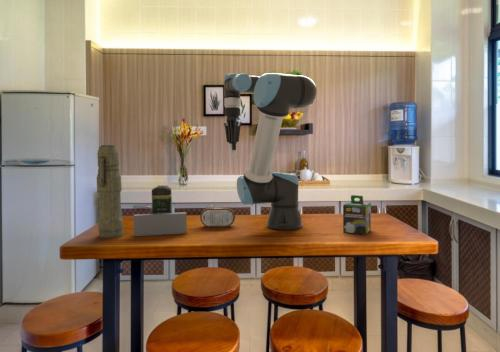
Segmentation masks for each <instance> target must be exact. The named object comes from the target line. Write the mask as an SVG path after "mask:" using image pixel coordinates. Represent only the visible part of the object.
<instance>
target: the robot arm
mask: <svg viewBox="0 0 500 352" xmlns="http://www.w3.org/2000/svg"><path fill="white" fill-rule="evenodd" d="M223 78H224V79H223V87H224V88H223V91H224V94H223V95H224V98H223V99H224V101H223V102H224V104H223V105H224V116H225V117H226V122H223V126H224V131H225V138H226V142H227V143H228V144H229V149H228V150H229V157H230V158H236V157H237V143H239V141H240V131H241V127H242V121H239V117H240V116H241V108H240V107H241V93H245V94H246V93H250V94H251V93H252V94H253V101H254V104H255V106H256V107H257V108H256V111H258V112H259V117H258V122H257V128H256V132H255V136H254V137H255V138H254V140H253V141H254V142H253V146H252V152H251V156H250V161H249V166H248V167H247V168H245V169H244V173H243V175H241V176H238V178H237V179H236V191H237V195H238V199H239V200H240V202H241V203H242V204H243V205H251V206H252V205H253V206H254V205H261V204H263V205H264V204H270V211H269V215H268V217H267V220H266V227H267V228H270V229H273V230H282V231H283V230H285V231H286V230H287V231H289V230H291V231H292V230H298V229H301V228H302V227H303V220H302V217H301V214H300V209H299V186H300V184H299V177H298V175H296V174H294V173H288V172H287V173H285V172H279V171H277V172H276V171H271V169H272V165H273V161H274V157H275V153H276V149H277V146H278V145H277V144H278V141H279V136H280V131H281V127H282V124H283V120H284V119H285V118H286V117H288V115H289V112H290V110H291V109H303V108H305V107H306V108H307V107H308V106H309V105H311V104H313V102H314V101H315V100H316V98H317V94H318V90H317V85H316V84H315V82H314V81H313V79H311V78H310V77H307V76H305V75H299V74H298V75H297V74H289V73H287V74H286V73H279V72H269V73H268V72H266V73H263V74H262V75H260V76H259V75H258V76H257V75H248V74H247V73H245V72H244V73H228V74H225V75H224V77H223Z"/></svg>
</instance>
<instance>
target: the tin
mask: <svg viewBox="0 0 500 352" xmlns="http://www.w3.org/2000/svg"><path fill="white" fill-rule="evenodd" d="M199 218H200V222H201V224H202V225H203V226H205V227H209V228H217V227H218V228H224V227H225V228H227V227H230V226H232V225H233V224H234V222H235V219H236V214H235V211H234V210H233V209H232V208H231V207H227V206H209V207H208V206H207V207H204V208H203V209H202V211H200V216H199Z"/></svg>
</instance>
